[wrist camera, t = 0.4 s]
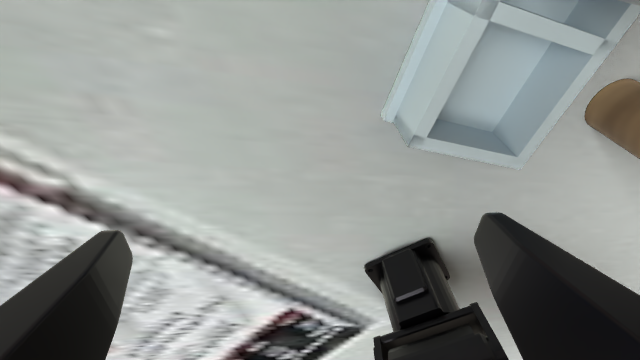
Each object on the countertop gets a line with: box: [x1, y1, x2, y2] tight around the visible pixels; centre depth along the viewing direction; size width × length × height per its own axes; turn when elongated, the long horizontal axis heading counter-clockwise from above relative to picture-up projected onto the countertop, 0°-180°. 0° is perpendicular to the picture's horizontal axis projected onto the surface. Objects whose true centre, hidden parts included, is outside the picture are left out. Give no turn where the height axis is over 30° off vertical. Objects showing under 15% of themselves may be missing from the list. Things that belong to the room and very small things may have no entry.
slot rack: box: [381, 0, 640, 170], centre depth 17 cm, size 15×9×4 cm, turn 164°
